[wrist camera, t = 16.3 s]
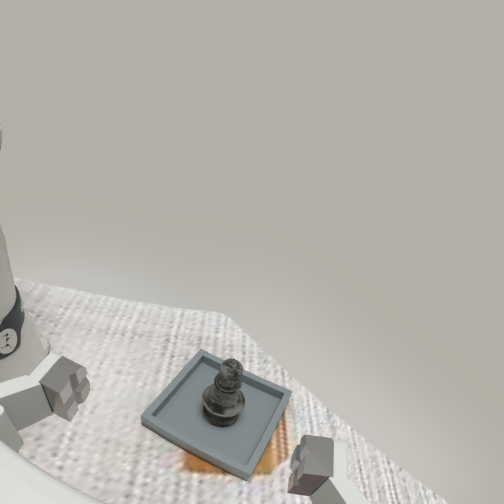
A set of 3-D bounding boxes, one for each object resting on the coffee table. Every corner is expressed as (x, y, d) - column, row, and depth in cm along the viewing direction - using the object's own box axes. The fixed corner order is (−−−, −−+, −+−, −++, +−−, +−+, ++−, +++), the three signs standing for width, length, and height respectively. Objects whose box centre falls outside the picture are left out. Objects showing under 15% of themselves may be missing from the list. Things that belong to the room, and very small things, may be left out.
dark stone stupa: (237, 396, 45) (253, 341, 39) (244, 428, 40) (263, 377, 34) (198, 396, 43) (206, 340, 38) (201, 429, 38) (211, 378, 33)
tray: (141, 424, 38) (140, 415, 36) (199, 358, 51) (200, 348, 50) (247, 481, 33) (250, 474, 32) (288, 400, 47) (292, 391, 46)
